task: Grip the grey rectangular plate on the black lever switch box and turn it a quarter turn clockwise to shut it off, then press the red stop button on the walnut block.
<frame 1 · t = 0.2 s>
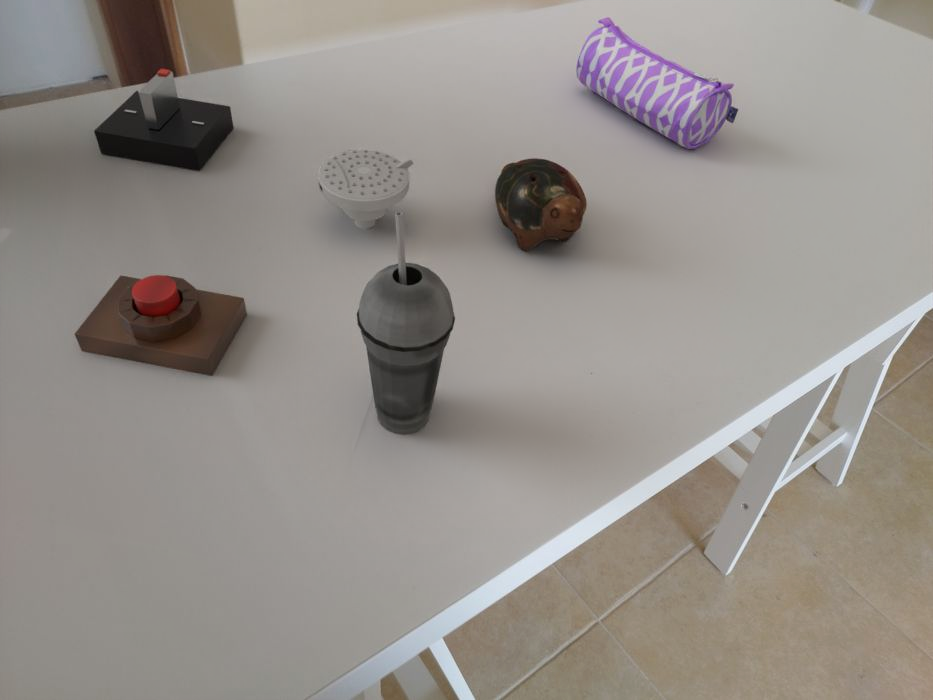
button block: (167, 332, 67), on the table
grey rectangular plate: (159, 98, 85), point 5 cm above the table, hinge at 90.0°
pencil case: (642, 118, 102), on the table
showerhead: (367, 224, 81), on the table
beverage cup: (403, 414, 63), on the table
stop button: (156, 296, 64), point 4 cm above the table, slide at 0.1 cm
black lever switch box: (169, 140, 89), on the table
decorative turtle: (533, 230, 82), on the table
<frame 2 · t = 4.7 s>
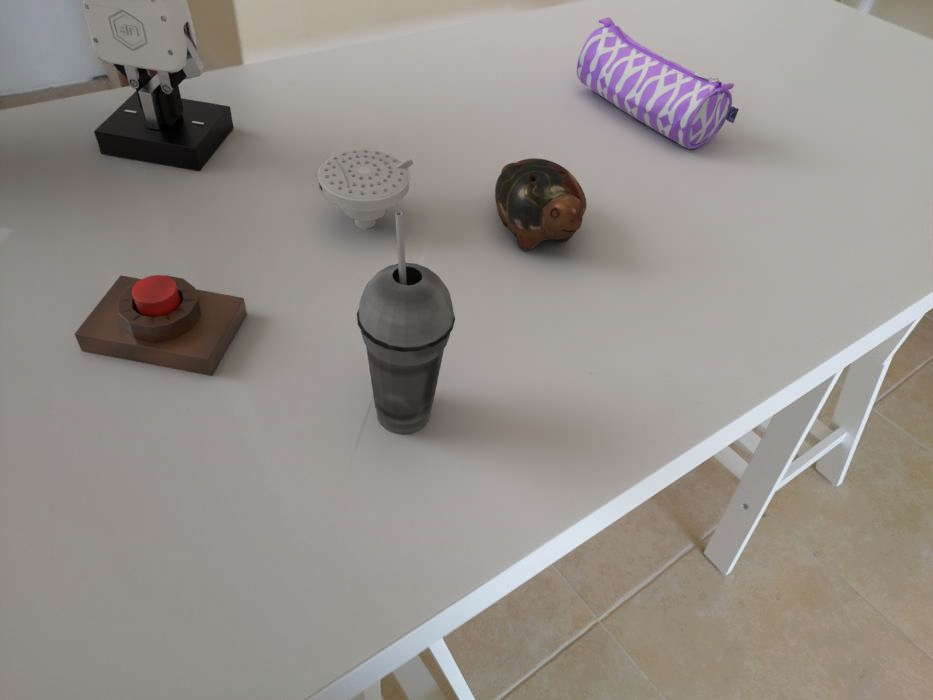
hand: (164, 117, 86), 3 cm above the table, tool pointing down, fingers closed
nothing on the table moved.
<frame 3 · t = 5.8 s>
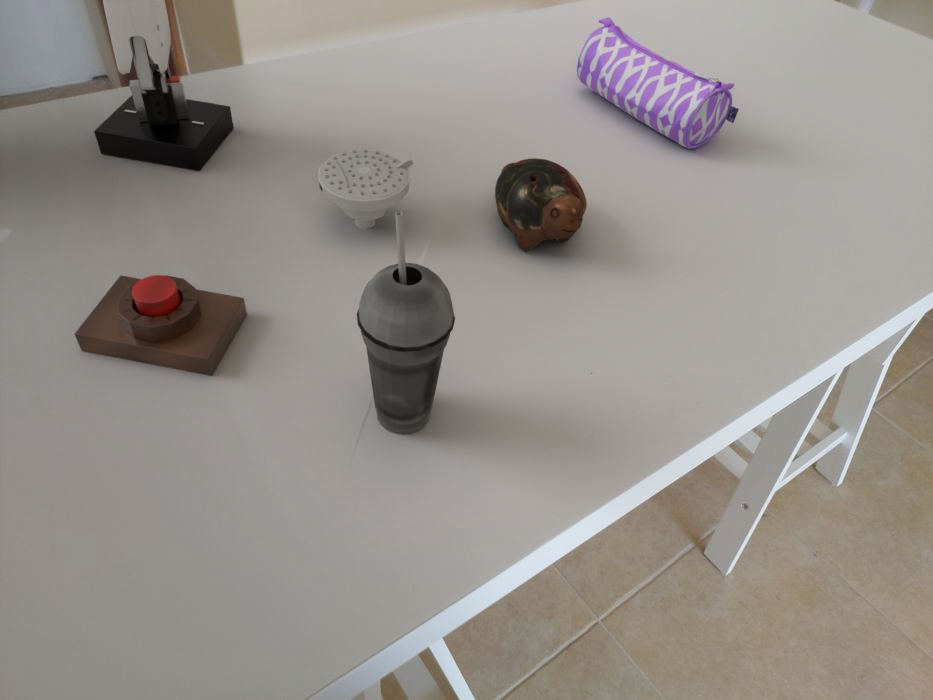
hand: (164, 116, 86), 3 cm above the table, tool pointing down, fingers closed on grey rectangular plate
grey rectangular plate: (159, 98, 85), point 5 cm above the table, hinge at 27.2°, touching gripper
everything else where it was.
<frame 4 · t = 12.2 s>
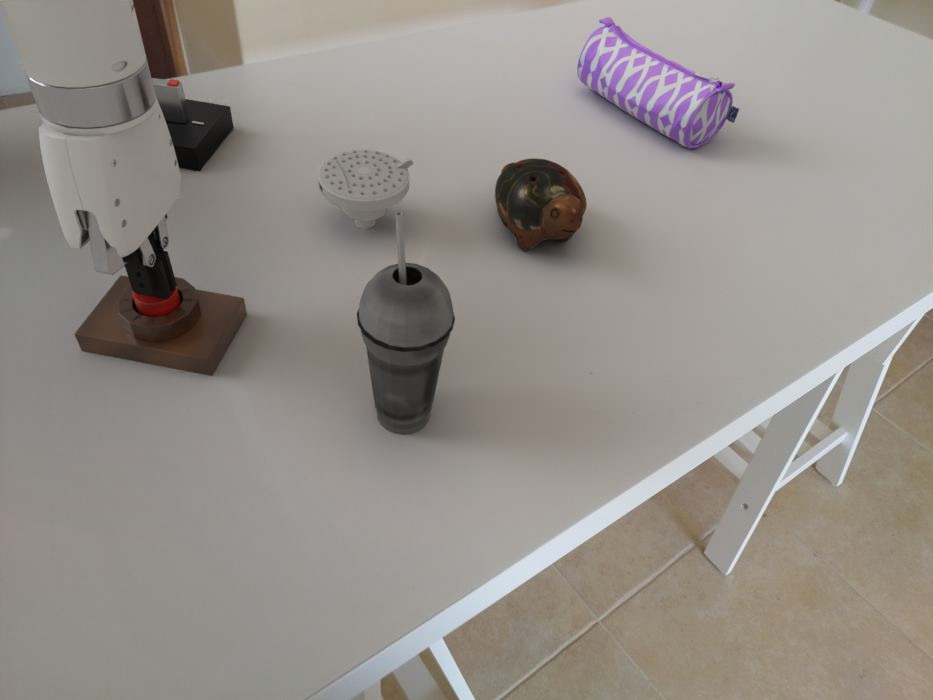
hand: (155, 290, 63), 5 cm above the table, tool pointing down, fingers closed
grey rectangular plate: (159, 98, 85), point 5 cm above the table, hinge at 3.2°
stop button: (156, 297, 64), point 4 cm above the table, slide at 0.0 cm, touching gripper
everything else where it was.
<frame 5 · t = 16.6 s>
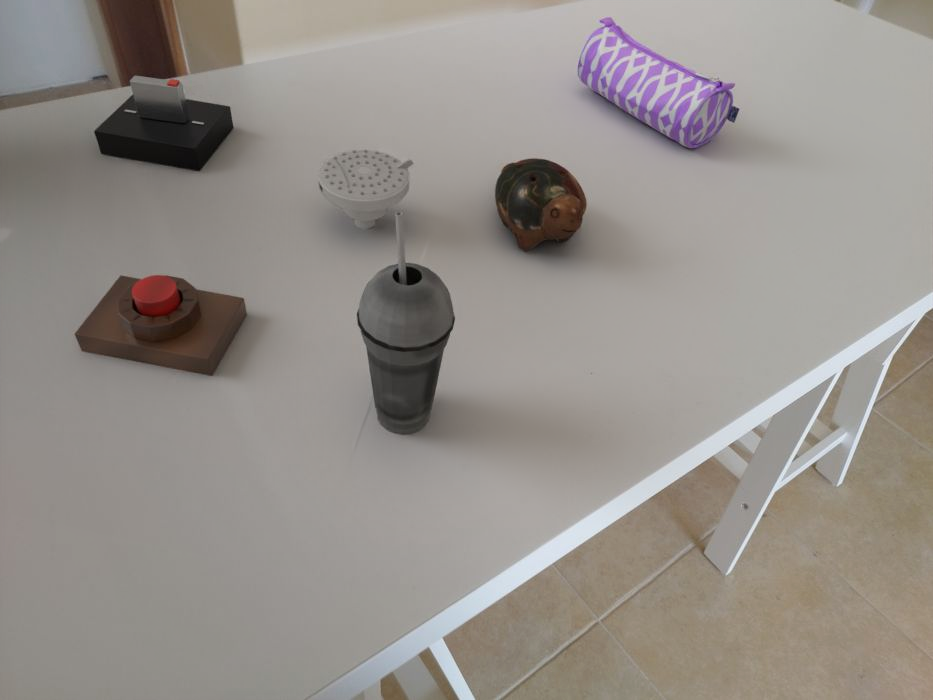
stop button: (156, 296, 64), point 4 cm above the table, slide at 0.1 cm
everything else where it was.
at the end: grey rectangular plate at +3° (first picture: +90°); stop button pushed in 1.1 cm at the most during the clip, back to where it started at the end; stop button slide at 0.1 cm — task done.
